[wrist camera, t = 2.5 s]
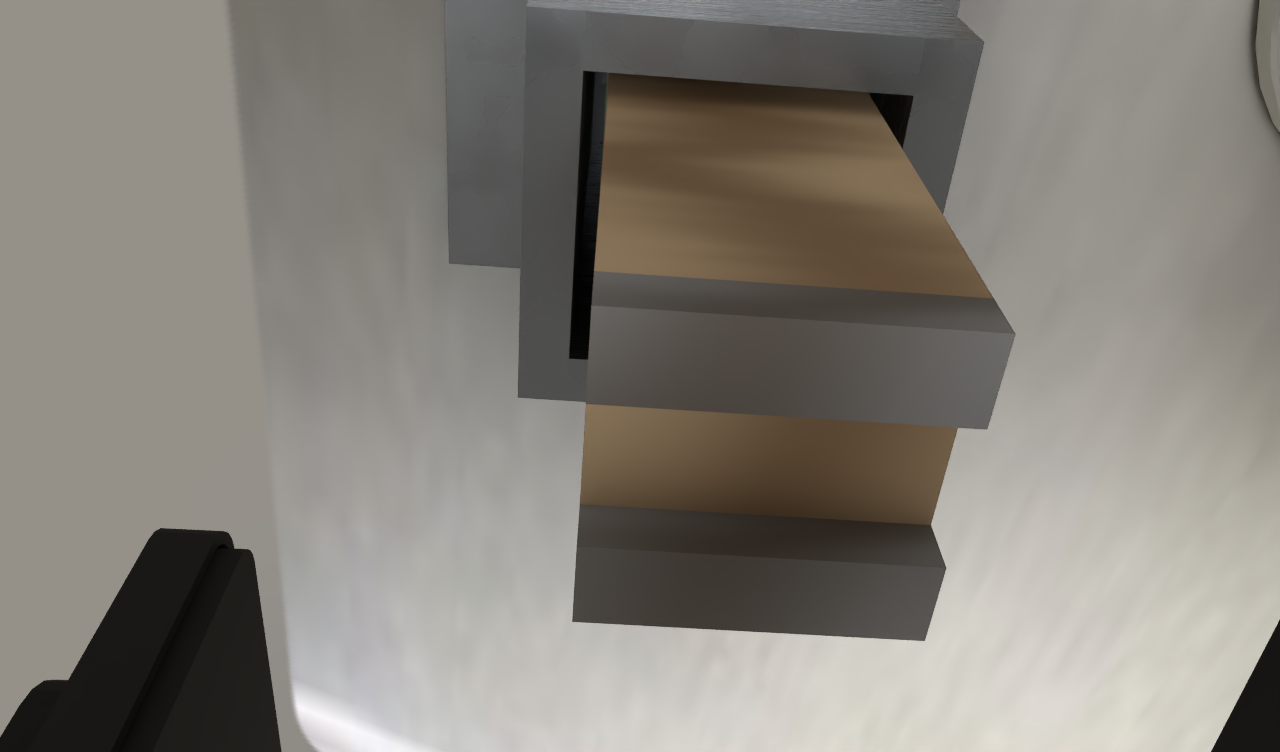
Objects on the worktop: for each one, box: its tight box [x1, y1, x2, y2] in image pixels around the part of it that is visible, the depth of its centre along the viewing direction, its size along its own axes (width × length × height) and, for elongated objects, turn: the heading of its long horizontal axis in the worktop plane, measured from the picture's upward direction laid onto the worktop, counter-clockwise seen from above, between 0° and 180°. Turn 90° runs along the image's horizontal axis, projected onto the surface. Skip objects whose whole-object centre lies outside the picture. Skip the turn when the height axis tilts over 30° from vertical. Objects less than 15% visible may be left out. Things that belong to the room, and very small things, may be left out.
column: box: [572, 72, 1015, 641], centre depth 20 cm, size 4×4×18 cm
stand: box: [445, 0, 984, 402], centre depth 24 cm, size 13×13×13 cm
